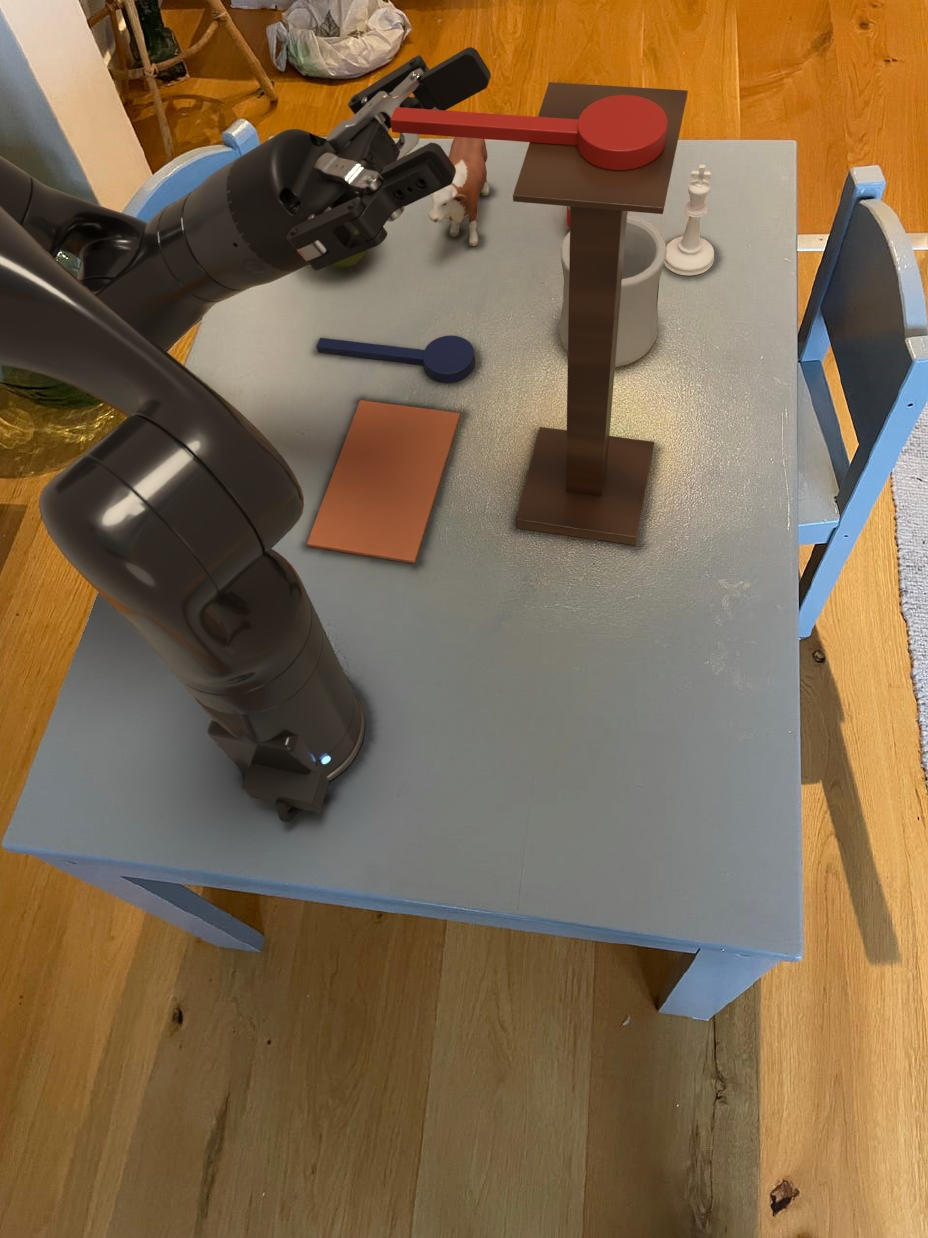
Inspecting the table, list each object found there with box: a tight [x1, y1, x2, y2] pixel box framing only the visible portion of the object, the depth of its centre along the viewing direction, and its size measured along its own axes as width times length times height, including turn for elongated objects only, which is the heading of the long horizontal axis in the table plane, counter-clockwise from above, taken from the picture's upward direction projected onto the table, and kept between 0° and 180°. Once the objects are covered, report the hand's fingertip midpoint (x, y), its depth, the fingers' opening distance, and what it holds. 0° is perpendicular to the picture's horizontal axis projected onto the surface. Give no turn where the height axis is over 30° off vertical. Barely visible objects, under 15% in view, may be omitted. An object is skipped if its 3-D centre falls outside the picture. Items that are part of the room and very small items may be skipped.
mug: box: [558, 214, 667, 368], centre depth 84 cm, size 12×9×10 cm
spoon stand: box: [512, 81, 689, 546], centre depth 65 cm, size 10×10×32 cm
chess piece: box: [664, 164, 715, 277], centre depth 87 cm, size 5×5×10 cm
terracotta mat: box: [306, 399, 461, 564], centre depth 81 cm, size 16×10×1 cm, turn 166°
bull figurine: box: [428, 137, 490, 247], centre depth 93 cm, size 4×13×8 cm, turn 166°
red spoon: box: [390, 95, 668, 170], centre depth 51 cm, size 5×15×1 cm, turn 76°
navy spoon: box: [316, 335, 476, 384], centre depth 88 cm, size 5×15×1 cm, turn 76°
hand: (465, 110), depth 51 cm, fingers open, 8 cm apart
